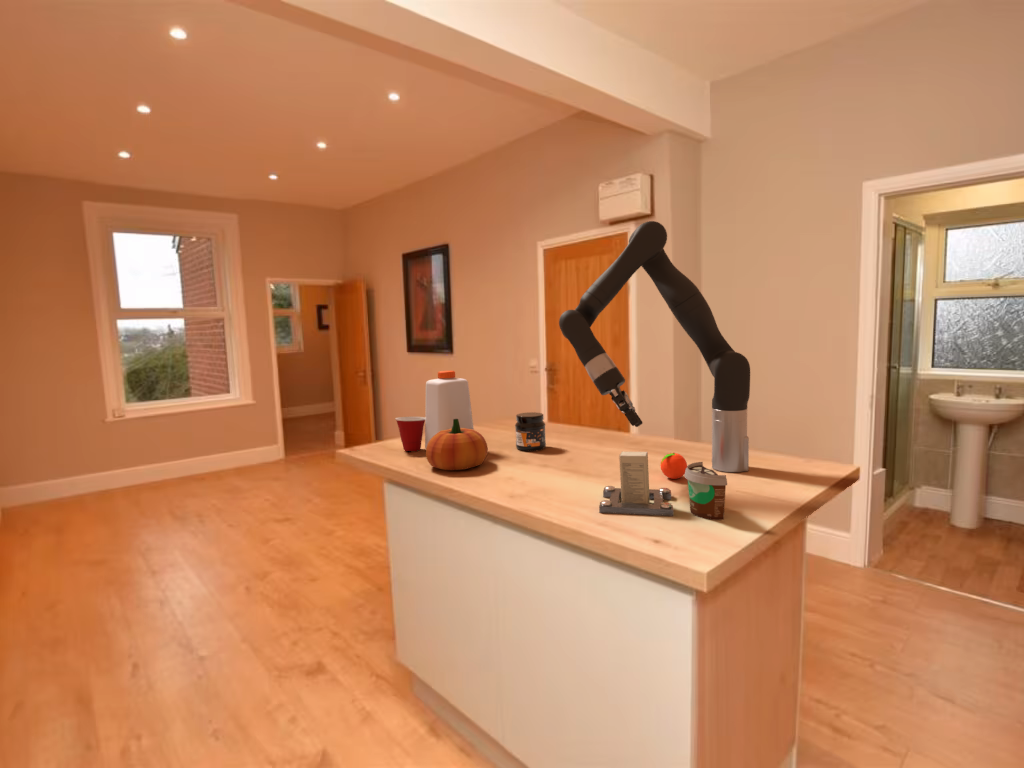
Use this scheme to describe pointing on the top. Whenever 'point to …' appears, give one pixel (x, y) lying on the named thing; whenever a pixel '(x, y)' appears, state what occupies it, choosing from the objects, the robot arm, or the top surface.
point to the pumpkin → (456, 448)
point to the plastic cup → (411, 432)
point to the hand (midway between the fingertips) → (638, 424)
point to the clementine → (673, 465)
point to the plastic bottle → (446, 404)
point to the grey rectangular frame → (637, 509)
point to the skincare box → (634, 477)
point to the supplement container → (530, 431)
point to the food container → (706, 491)
